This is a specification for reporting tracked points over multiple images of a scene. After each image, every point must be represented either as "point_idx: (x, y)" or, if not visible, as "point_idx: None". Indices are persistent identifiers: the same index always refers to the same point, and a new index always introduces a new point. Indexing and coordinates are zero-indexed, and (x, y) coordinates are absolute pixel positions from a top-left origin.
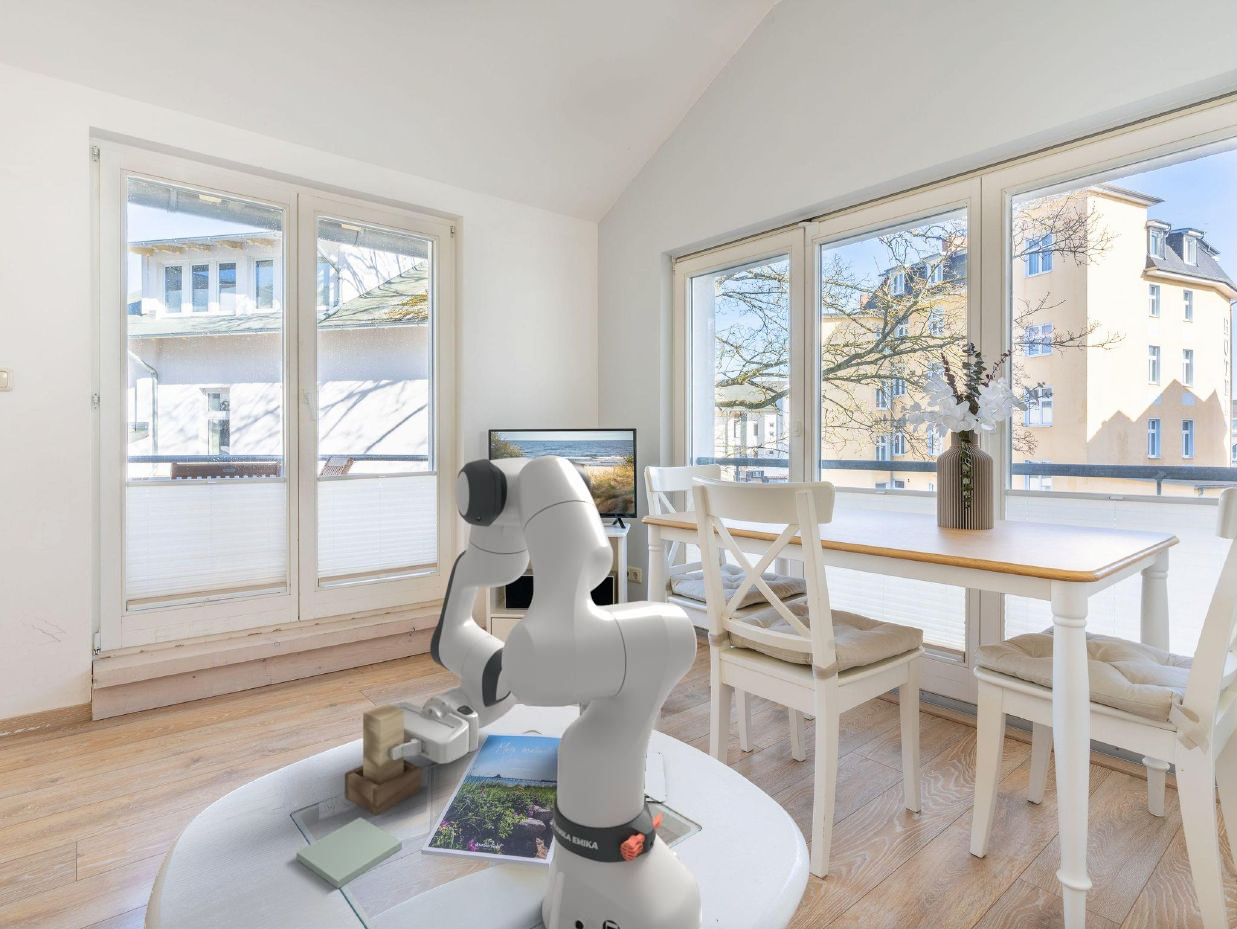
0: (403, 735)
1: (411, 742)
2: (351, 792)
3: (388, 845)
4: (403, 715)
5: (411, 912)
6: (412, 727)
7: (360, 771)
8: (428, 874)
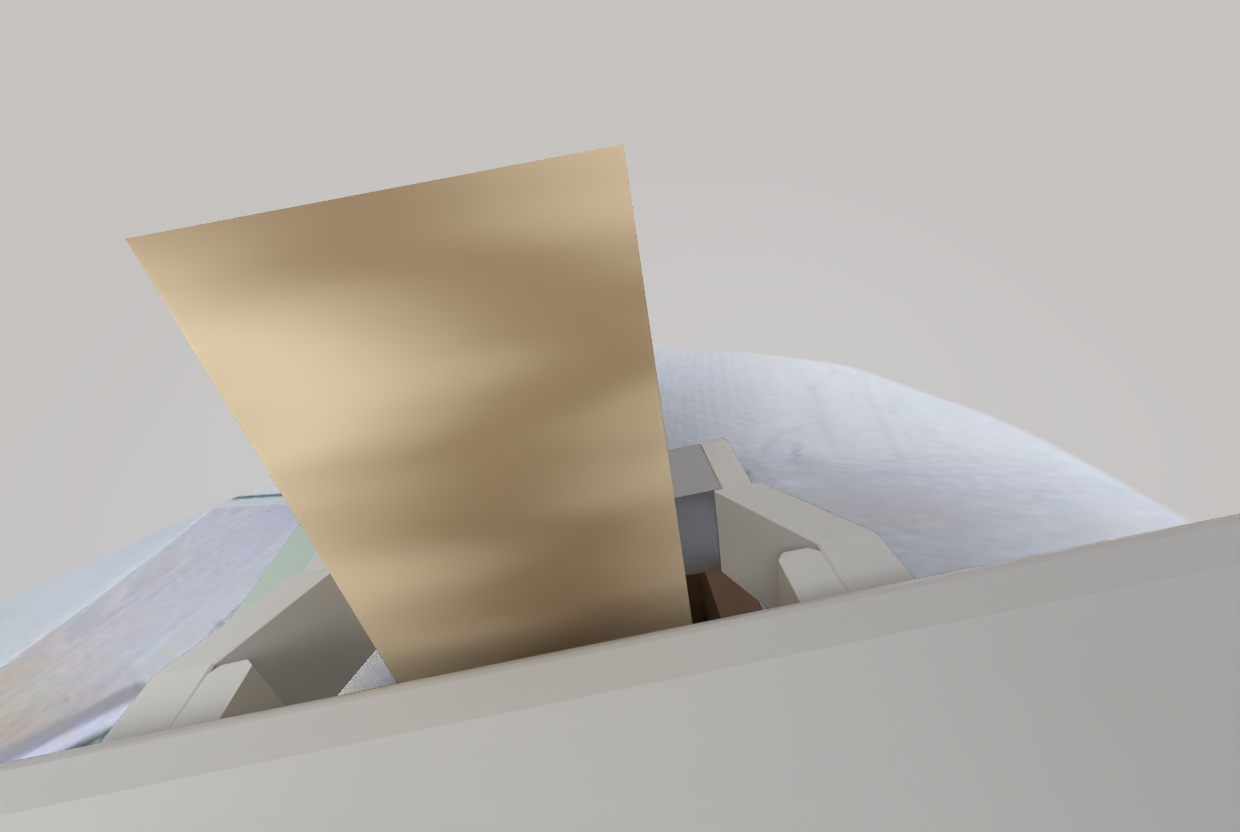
0: (338, 580)
1: (212, 647)
2: None
3: (271, 584)
4: (188, 329)
5: (104, 565)
6: (317, 775)
7: (706, 580)
8: (79, 649)
